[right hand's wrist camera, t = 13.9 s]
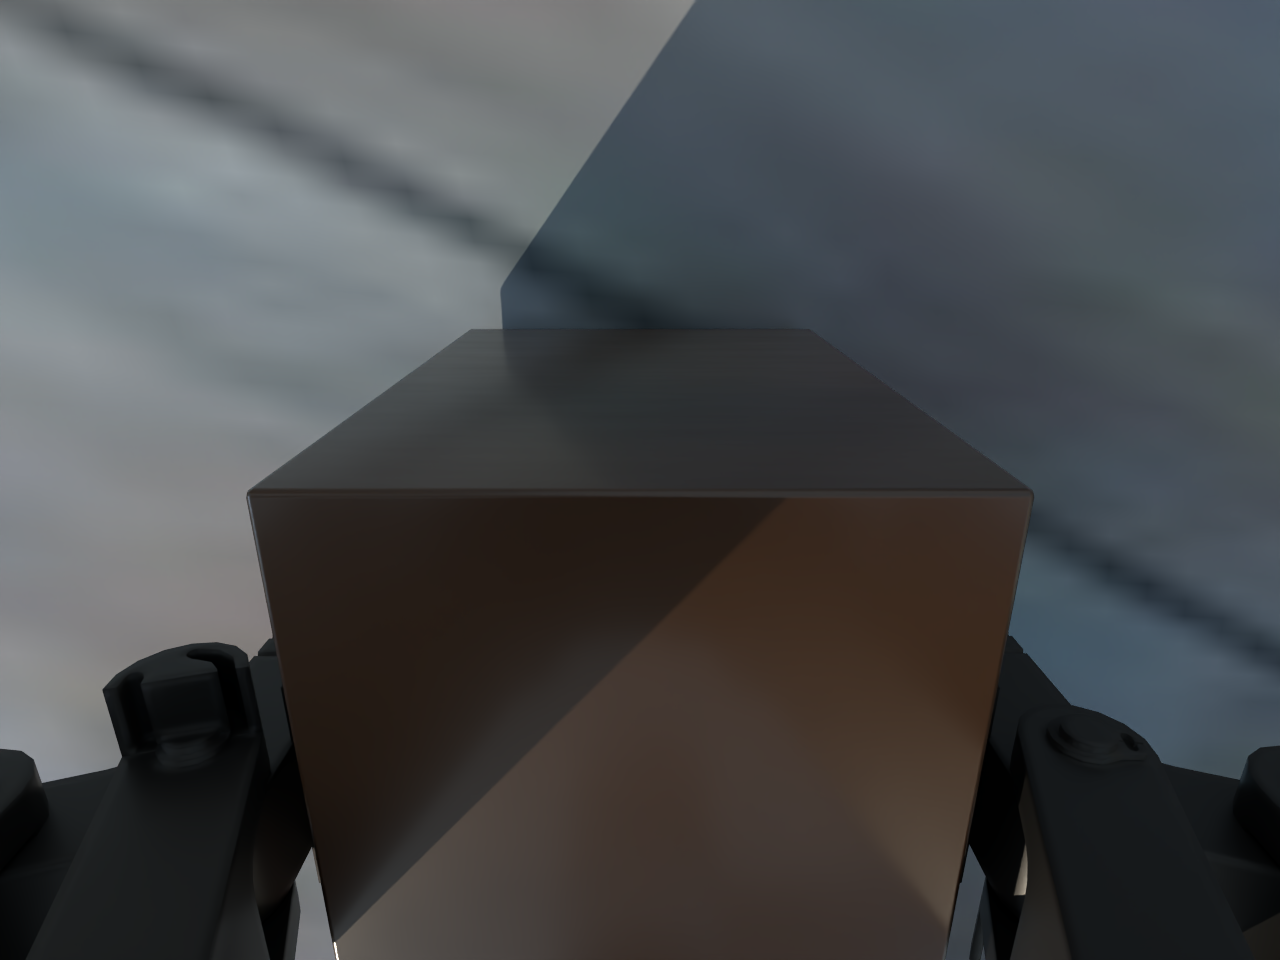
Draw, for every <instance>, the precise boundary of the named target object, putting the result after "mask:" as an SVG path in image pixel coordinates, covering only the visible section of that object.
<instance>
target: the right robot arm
mask: <svg viewBox="0 0 1280 960" xmlns="http://www.w3.org/2000/svg"><path fill="white" fill-rule="evenodd" d="M103 694H104V697H105V700H106V704H107V707H108V711H109V714H110V717H111V721H112V724H113V727H114V731H115V734H116V738H117V741H118V744H119V748H120V751H121V754H122V758H121V760H120V763H119V765H118V767H115V768H111V769H107V770H103V771H98V772H93V773H88V774H84V775H79V776H74V777H69V778H64V779H60V780H55V781H50V782H45V783H42V782H41V779H40V777H39V774H38V771H37V768H36V765H35V762H34V759H32V758H31V757H29V756H28V755H27V754H25V753H24V752H22V751H17V750H7V749H0V960H295V953H296V944H297V936H298V928H299V920H300V904H299V897H298V892H297V887H296V882H295V879H296V877H297V875H298V873H299V871H300V869H301V867H302V865H303V863H304V861H305V859H306V857H307V855H308V853H309V851H310V849H311V847H312V849H313V854H314V859H315V864H316V869H317V874H318V880H319V883H321V881H320V876H319V871H318V865H317V860H316V855H315V850H314V845H313V840H312V834H311V829H310V824H309V819H308V814H307V809H306V803H305V798H304V793H303V788H302V783H301V778H300V772H299V767H298V762H297V757H296V752H295V747H294V741H293V736H292V731H291V726H290V721H289V716H288V710H287V705H286V700H285V695H284V690H283V685H282V679H281V674H280V669H279V664H278V659H277V654H276V648H275V643H274V638H272V639H268V641H267V642H266V643H265V644H264V645H263V647H262V648H261V649H260V650H259V651H258V656H254V657H253V658H252V660H251V661H250V662H249V661H248V656H247V654H246V653H245V652H243V651H242V650H241V649H239V648H238V647H237V646H234V645H228V644H223V643H218V642H214V643H196V644H189V645H185V646H180V647H176V648H172V649H167V650H164V651H161V652H159V653H156V654H154V655H151V656H149V657H146V658H144V659H141V660H139V661H137V662H136V663H134V664H132V665H131V666H129V667H128V668H126V669H124V670H123V671H121V672H120V673H118V674H116V675H115V677H114V678H113V679H112V680H111V681H110V682H109V683H108V684H107V685H106V686H105V687H104V688H103ZM969 844H970V846H971V848H972V850H973V852H974V854H975V856H976V858H977V860H978V862H979V864H980V866H981V868H982V870H983V872H984V874H985V876H986V877H985V882H984V887H983V892H982V896H981V901H980V906H979V910H978V915H977V920H976V925H975V929H974V934H973V939H972V944H971V951H970V957H969V960H980V959H981V954H982V950H983V945H984V951H985V959H986V960H1280V746H1272V747H1262V748H1259V749H1258V750H1256V751H1255V752H1254V753H1252V754H1251V755H1249V756H1248V759H1247V762H1246V764H1245V767H1244V770H1243V773H1242V776H1241V779H1240V780H1237V779H1232V778H1227V777H1223V776H1218V775H1213V774H1208V773H1203V772H1198V771H1194V770H1189V769H1184V768H1179V767H1175V766H1171V765H1167V764H1163V763H1161V761H1160V759H1159V757H1158V755H1157V754H1156V753H1155V751H1154V750H1153V749H1152V748H1151V746H1150V745H1149V744H1148V742H1147V741H1146V740H1145V739H1144V738H1143V737H1141V736H1140V735H1139V734H1137V733H1136V732H1134V731H1133V730H1132V729H1130V728H1129V727H1128V726H1126V725H1125V724H1123V723H1121V722H1119V721H1116V720H1114V719H1112V718H1110V717H1108V716H1106V715H1104V714H1101V713H1099V712H1096V711H1092V710H1088V709H1084V708H1081V707H1077V706H1073V705H1070V703H1069V702H1068V701H1067V700H1066V699H1065V698H1064V696H1063V695H1062V694H1061V693H1060V692H1059V691H1058V689H1057V688H1056V687H1055V686H1054V685H1053V684H1052V682H1051V681H1050V680H1049V679H1048V678H1047V677H1046V675H1045V674H1044V673H1043V672H1042V671H1041V670H1040V668H1039V667H1038V666H1037V665H1036V664H1035V663H1034V661H1033V660H1032V659H1031V658H1030V657H1029V655H1028V654H1024V653H1023V648H1022V647H1021V646H1020V645H1019V644H1018V643H1017V641H1016V640H1015V639H1014V638H1013V637H1012V636H1009V635H1007V640H1006V646H1005V651H1004V656H1003V661H1002V666H1001V672H1000V677H999V682H998V687H997V692H996V698H995V703H994V708H993V713H992V718H991V724H990V729H989V734H988V739H987V744H986V750H985V755H984V760H983V765H982V770H981V776H980V781H979V786H978V791H977V796H976V802H975V807H974V812H973V817H972V822H971V827H970V833H969V838H968V843H967V848H966V853H965V859H964V864H963V869H962V874H961V879H960V883H961V882H962V877H963V872H964V867H965V862H966V857H967V852H968V847H969Z"/></svg>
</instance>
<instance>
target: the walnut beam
mask: <svg viewBox="0 0 1280 960" xmlns="http://www.w3.org/2000/svg"><path fill="white" fill-rule="evenodd" d="M246 499H247V504H248V509H249V514H250V519H251V524H252V530H253V535H254V540H255V545H256V550H257V555H258V561H259V566H260V571H261V576H262V581H263V586H264V592H265V597H266V602H267V607H268V612H269V617H270V623H271V628H272V633H273V638H274V643H275V648H276V654H277V659H278V664H279V669H280V674H281V679H282V685H283V690H284V695H285V700H286V705H287V710H288V716H289V721H290V726H291V731H292V736H293V741H294V747H295V752H296V757H297V762H298V767H299V772H300V778H301V783H302V788H303V793H304V798H305V803H306V809H307V814H308V819H309V824H310V829H311V834H312V840H313V845H314V850H315V855H316V860H317V865H318V871H319V876H320V881H321V886H322V891H323V896H324V902H325V907H326V912H327V917H328V922H329V927H330V933H331V938H332V943H333V948H334V953H335V958H336V960H945V957H946V952H947V947H948V942H949V937H950V931H951V926H952V921H953V916H954V911H955V905H956V900H957V895H958V890H959V885H960V879H961V874H962V869H963V864H964V859H965V853H966V848H967V843H968V838H969V833H970V827H971V822H972V817H973V812H974V807H975V802H976V796H977V791H978V786H979V781H980V776H981V770H982V765H983V760H984V755H985V750H986V744H987V739H988V734H989V729H990V724H991V718H992V713H993V708H994V703H995V698H996V692H997V687H998V682H999V677H1000V672H1001V666H1002V661H1003V656H1004V651H1005V646H1006V640H1007V635H1008V630H1009V625H1010V620H1011V614H1012V609H1013V604H1014V599H1015V594H1016V588H1017V583H1018V578H1019V573H1020V568H1021V562H1022V557H1023V552H1024V547H1025V542H1026V537H1027V531H1028V526H1029V521H1030V516H1031V511H1032V505H1033V500H1034V494H1033V491H1032V490H1031V489H1030V488H1029V487H1027V486H1026V485H1024V484H1023V483H1022V482H1020V481H1019V480H1018V479H1016V478H1015V477H1013V476H1012V475H1011V474H1009V473H1008V472H1006V471H1005V470H1004V469H1002V468H1001V467H1000V466H998V465H997V464H995V463H994V462H993V461H991V460H990V459H988V458H987V457H986V456H984V455H983V454H982V453H980V452H979V451H977V450H976V449H975V448H973V447H972V446H970V445H969V444H968V443H966V442H965V441H964V440H962V439H961V438H959V437H958V436H957V435H955V434H954V433H952V432H951V431H950V430H948V429H947V428H946V427H944V426H943V425H941V424H940V423H939V422H937V421H936V420H934V419H933V418H932V417H930V416H929V415H928V414H926V413H925V412H923V411H922V410H921V409H919V408H918V407H916V406H915V405H914V404H912V403H911V402H910V401H908V400H907V399H905V398H904V397H903V396H901V395H900V394H898V393H897V392H896V391H894V390H893V389H892V388H890V387H889V386H887V385H886V384H885V383H883V382H882V381H880V380H879V379H878V378H876V377H875V376H874V375H872V374H871V373H869V372H868V371H867V370H865V369H864V368H862V367H861V366H860V365H858V364H857V363H856V362H854V361H853V360H851V359H850V358H849V357H847V356H846V355H844V354H843V353H842V352H840V351H839V350H838V349H836V348H835V347H833V346H832V345H831V344H829V343H828V342H826V341H825V340H824V339H822V338H821V337H820V336H818V335H817V334H815V333H814V332H813V331H811V330H809V329H471V330H469V331H468V332H467V333H465V334H464V335H462V336H461V337H460V338H458V339H457V340H455V341H454V342H453V343H451V344H450V345H449V346H447V347H446V348H444V349H443V350H442V351H440V352H439V353H437V354H436V355H435V356H433V357H432V358H431V359H429V360H428V361H426V362H425V363H424V364H422V365H421V366H420V367H418V368H417V369H415V370H414V371H413V372H411V373H410V374H408V375H407V376H406V377H404V378H403V379H402V380H400V381H399V382H397V383H396V384H395V385H393V386H392V387H391V388H389V389H388V390H386V391H385V392H384V393H382V394H381V395H379V396H378V397H377V398H375V399H374V400H373V401H371V402H370V403H368V404H367V405H366V406H364V407H363V408H361V409H360V410H359V411H357V412H356V413H355V414H353V415H352V416H350V417H349V418H348V419H346V420H345V421H344V422H342V423H341V424H339V425H338V426H337V427H335V428H334V429H332V430H331V431H330V432H328V433H327V434H326V435H324V436H323V437H321V438H320V439H319V440H317V441H316V442H315V443H313V444H312V445H310V446H309V447H308V448H306V449H305V450H303V451H302V452H301V453H299V454H298V455H297V456H295V457H294V458H292V459H291V460H290V461H288V462H287V463H286V464H284V465H283V466H281V467H280V468H279V469H277V470H276V471H274V472H273V473H272V474H270V475H269V476H268V477H266V478H265V479H263V480H262V481H261V482H259V483H258V484H256V485H255V486H254V487H252V488H251V489H250V490H248V492H247V497H246Z"/></svg>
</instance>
